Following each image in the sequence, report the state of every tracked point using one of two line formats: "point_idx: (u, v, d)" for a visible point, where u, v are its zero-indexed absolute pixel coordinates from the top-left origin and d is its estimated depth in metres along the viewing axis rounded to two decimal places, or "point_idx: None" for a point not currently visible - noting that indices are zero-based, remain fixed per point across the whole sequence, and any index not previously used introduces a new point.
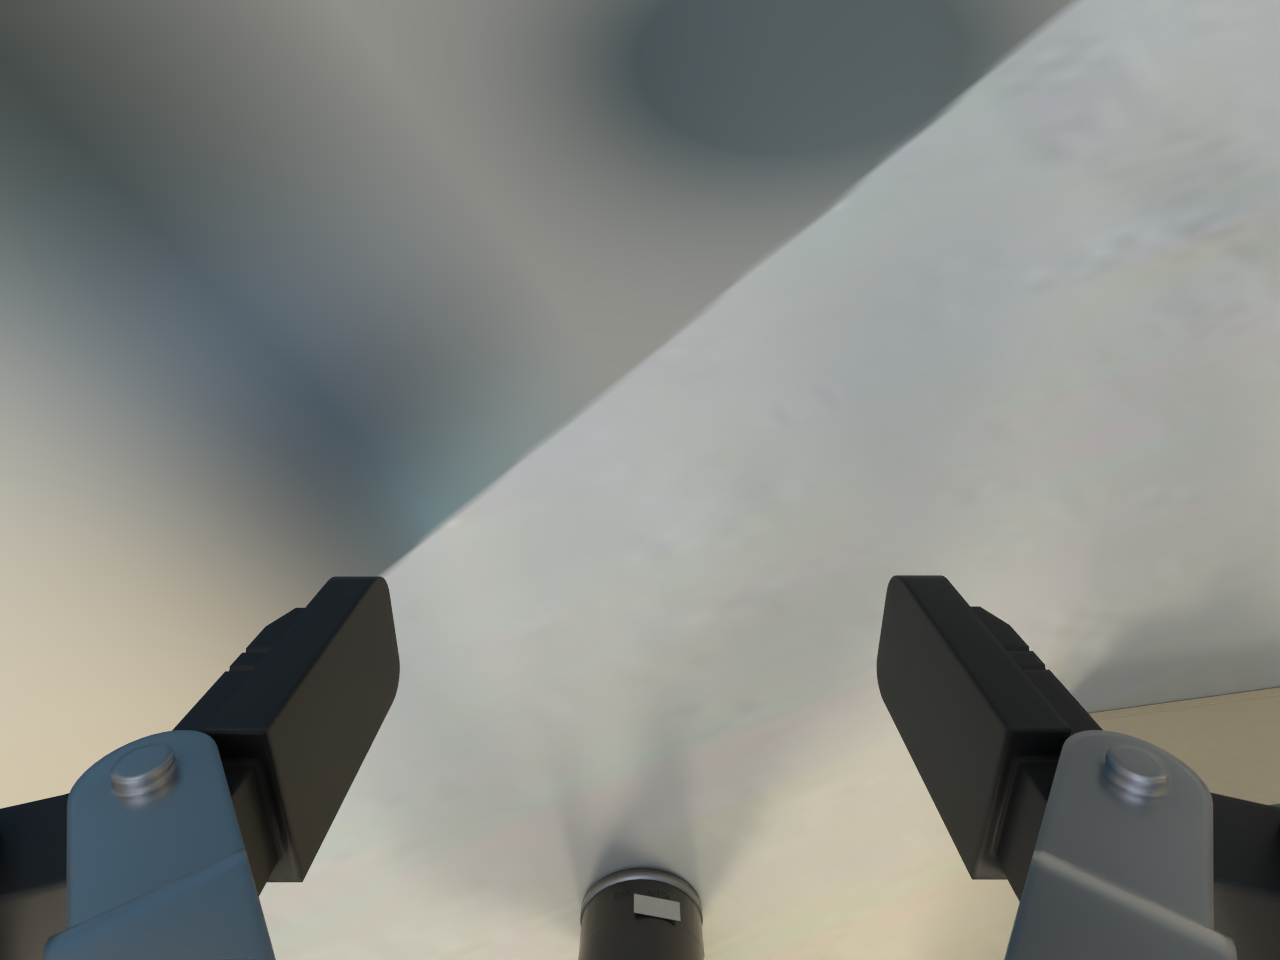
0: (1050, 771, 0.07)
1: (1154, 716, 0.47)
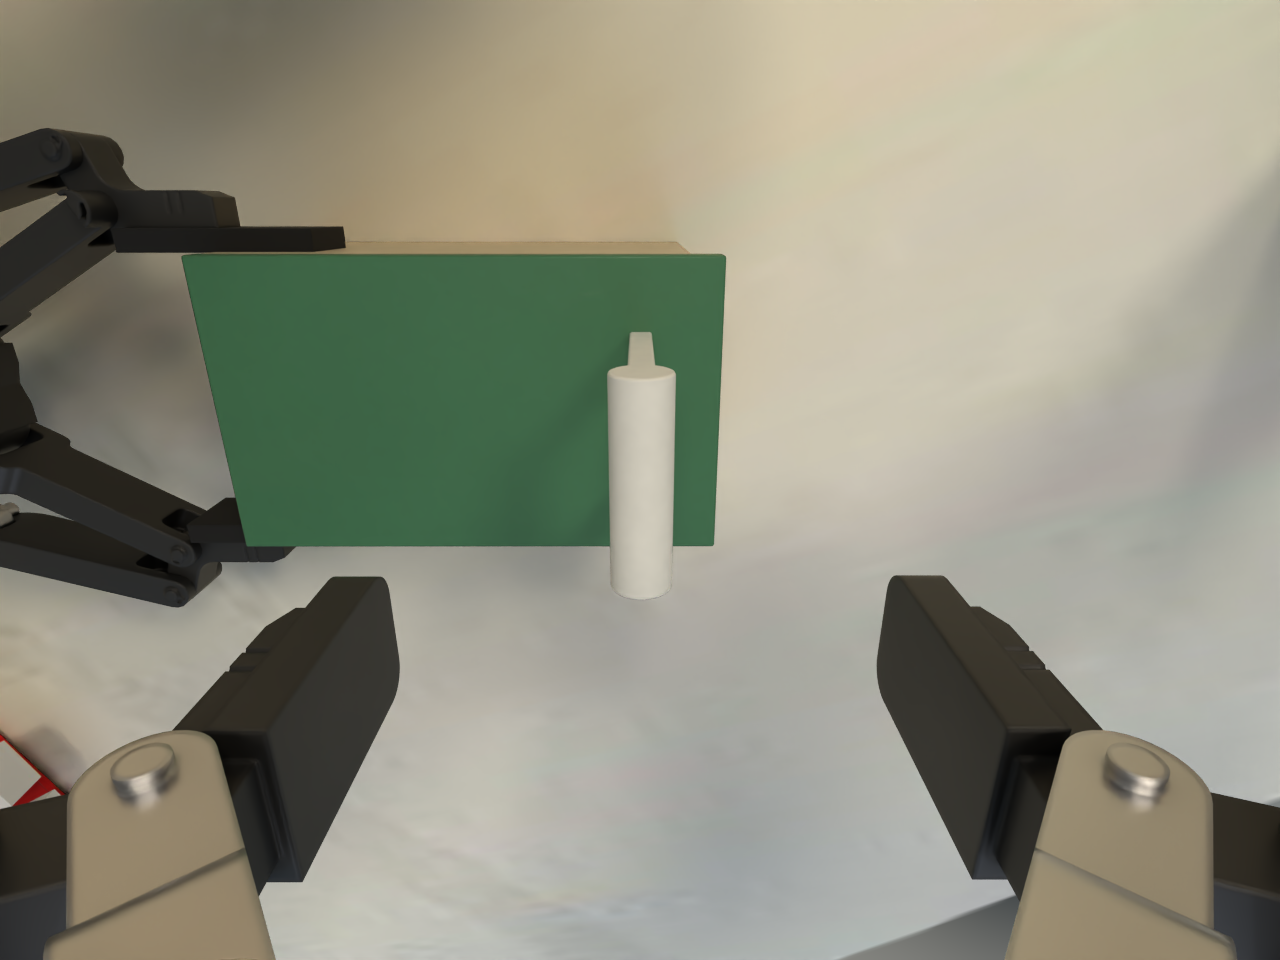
0: (1050, 771, 0.07)
1: None
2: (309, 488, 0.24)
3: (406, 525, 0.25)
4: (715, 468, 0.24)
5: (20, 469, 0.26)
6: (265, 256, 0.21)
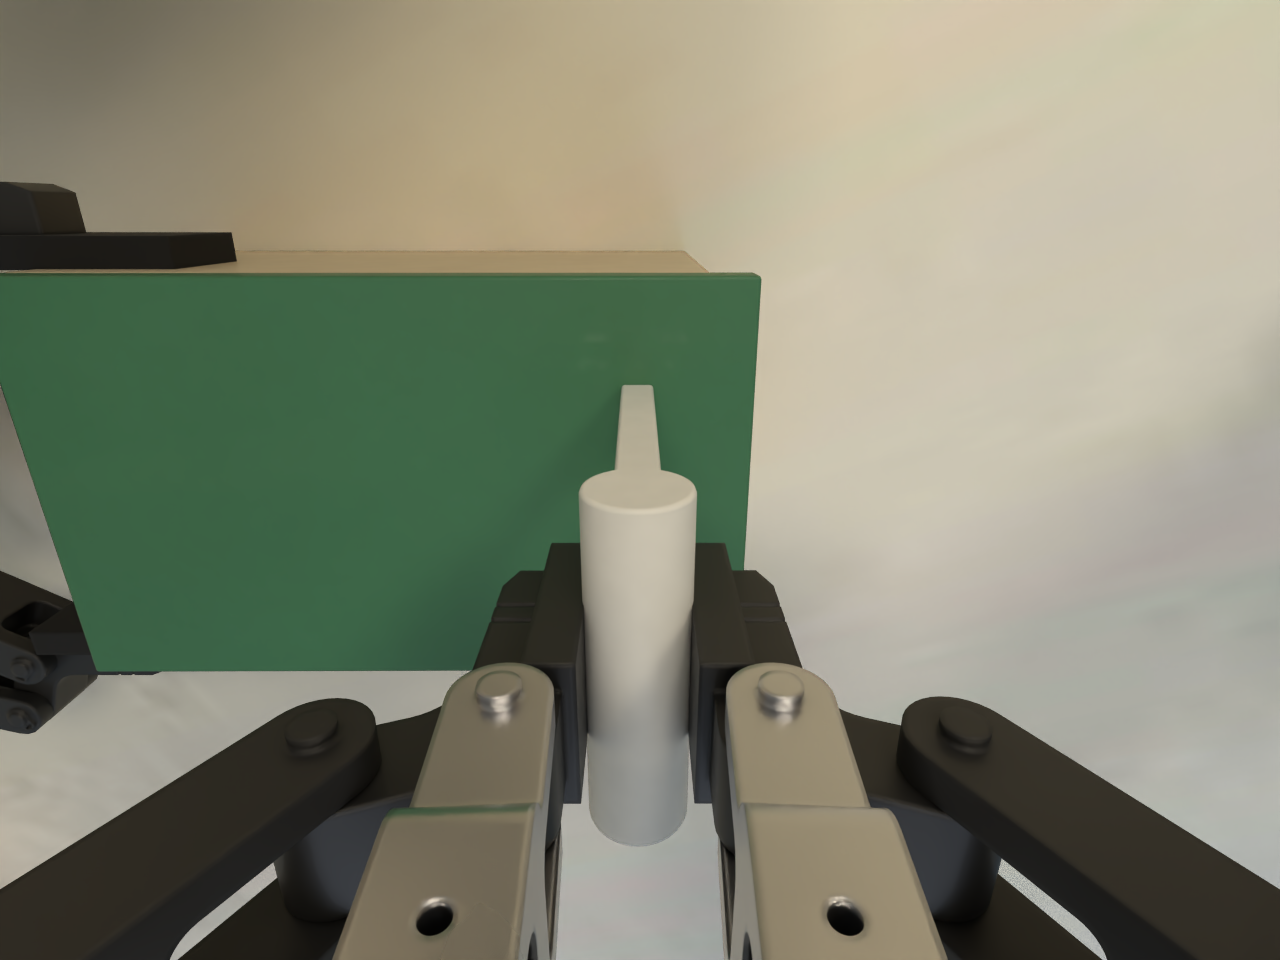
0: None
1: None
2: (176, 596, 0.17)
3: (316, 644, 0.18)
4: (741, 569, 0.17)
5: None
6: (88, 277, 0.15)
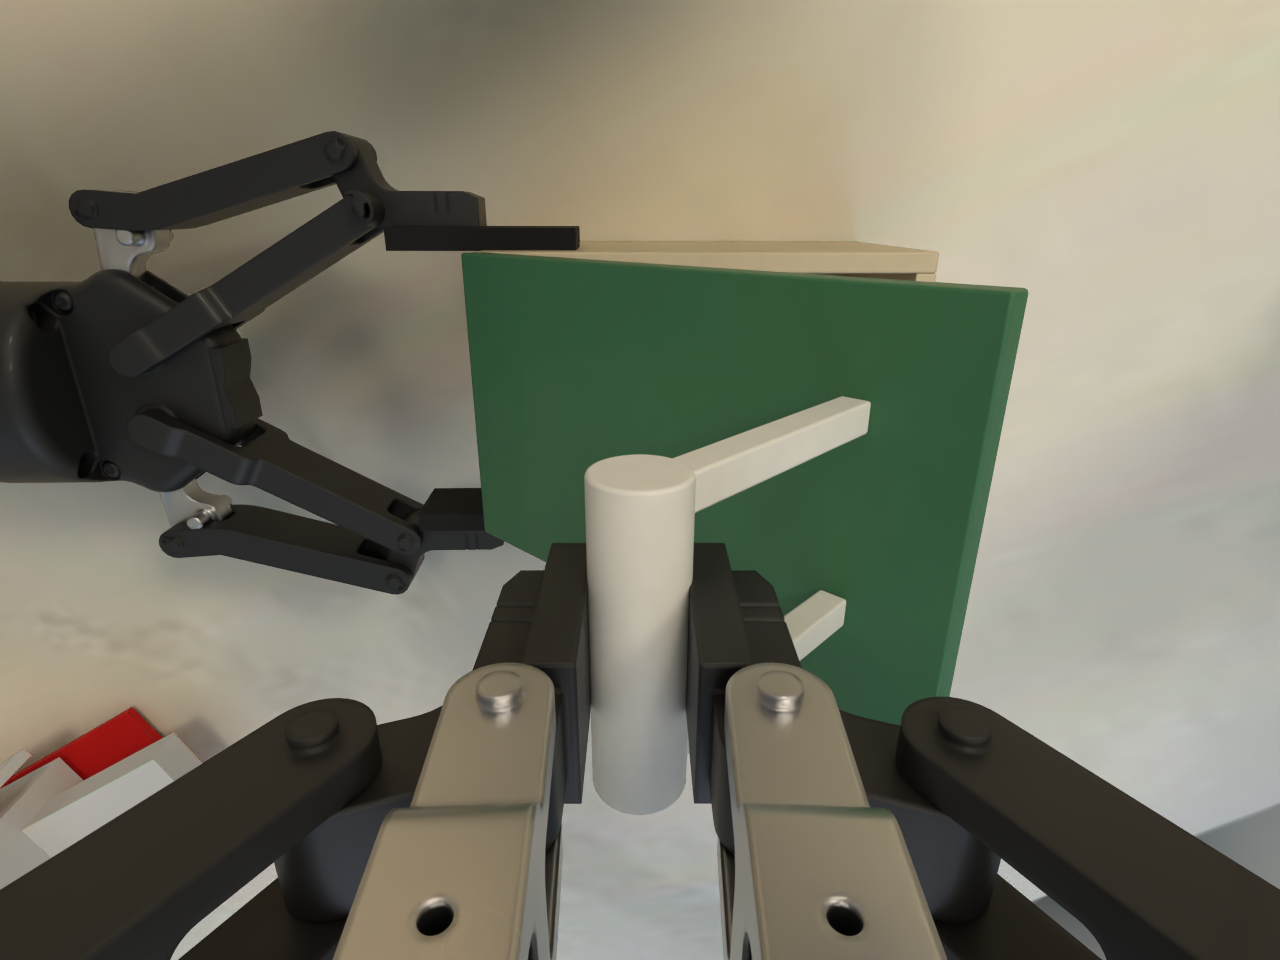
0: None
1: None
2: (524, 494, 0.24)
3: None
4: (946, 638, 0.14)
5: (261, 461, 0.27)
6: (509, 257, 0.21)
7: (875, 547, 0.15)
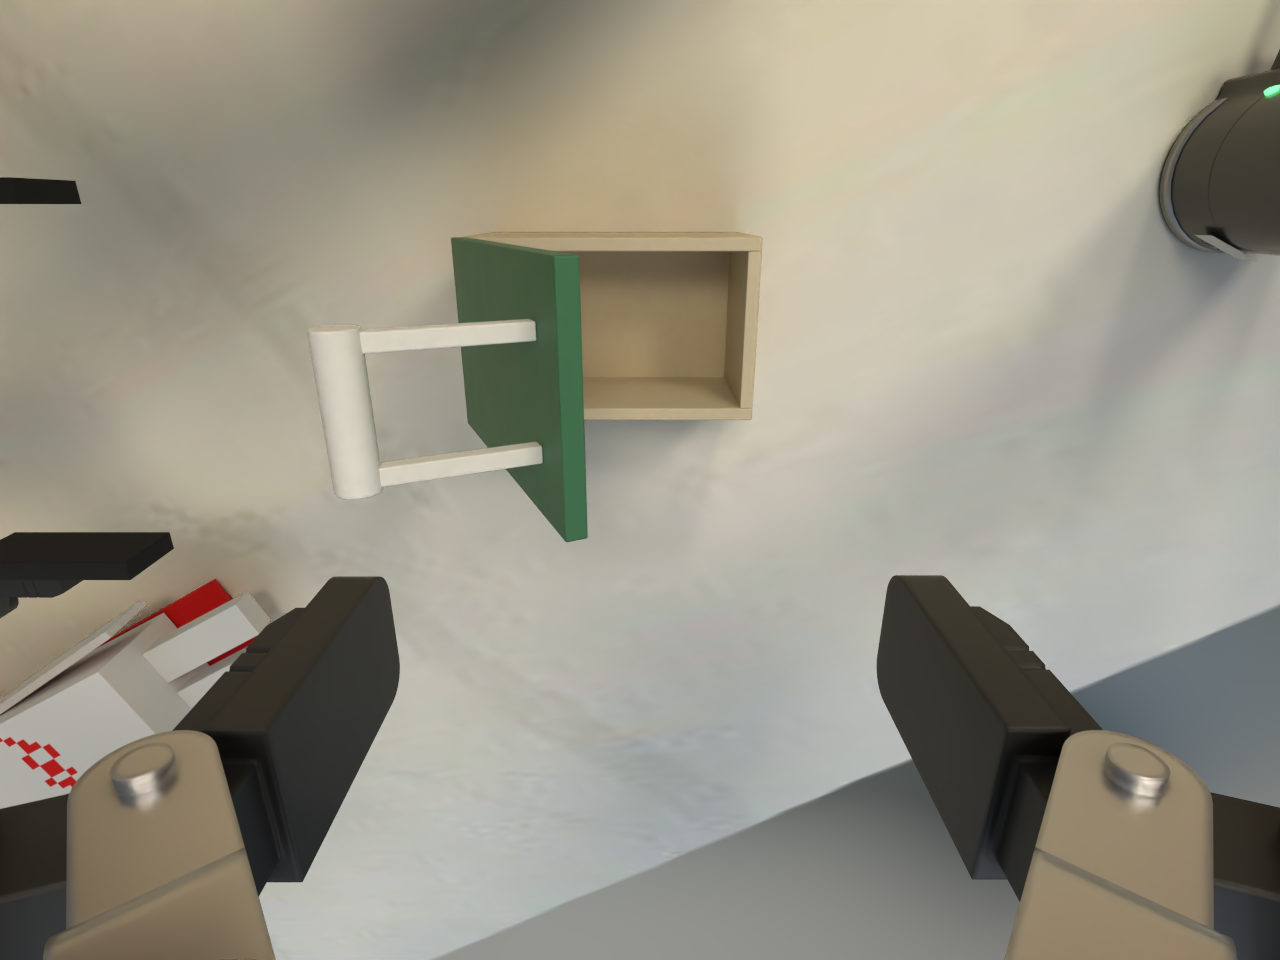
0: (1050, 771, 0.07)
1: None
2: (474, 395, 0.36)
3: (491, 438, 0.34)
4: (561, 465, 0.24)
5: None
6: (461, 240, 0.34)
7: (544, 411, 0.25)
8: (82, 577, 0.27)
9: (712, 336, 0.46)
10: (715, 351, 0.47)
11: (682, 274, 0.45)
